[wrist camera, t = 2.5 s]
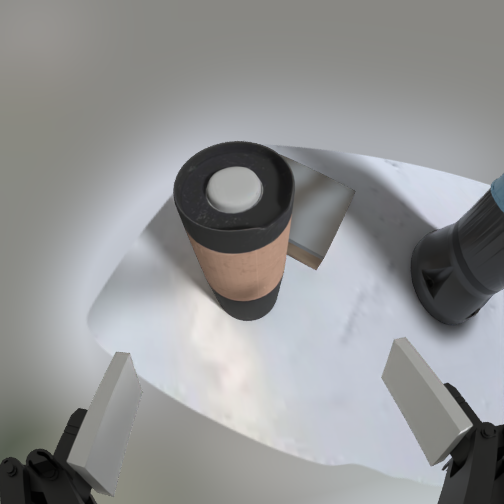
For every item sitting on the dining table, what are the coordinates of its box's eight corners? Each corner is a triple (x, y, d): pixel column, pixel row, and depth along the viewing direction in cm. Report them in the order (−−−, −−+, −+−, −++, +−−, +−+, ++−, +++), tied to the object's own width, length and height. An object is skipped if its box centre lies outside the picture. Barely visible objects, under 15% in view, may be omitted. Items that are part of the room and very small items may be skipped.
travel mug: (218, 264, 36) (182, 142, 18) (278, 264, 36) (292, 139, 18) (214, 322, 33) (159, 235, 15) (279, 323, 32) (302, 234, 15)
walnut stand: (347, 207, 41) (355, 191, 37) (316, 270, 36) (324, 257, 33) (277, 172, 43) (281, 154, 40) (237, 227, 38) (237, 211, 35)
